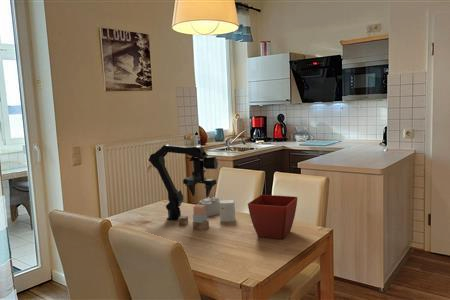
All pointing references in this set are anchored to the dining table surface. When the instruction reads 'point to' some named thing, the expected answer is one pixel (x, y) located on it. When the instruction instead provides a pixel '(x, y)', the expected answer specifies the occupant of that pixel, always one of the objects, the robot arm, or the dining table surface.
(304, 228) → the dining table surface
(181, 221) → the walnut block
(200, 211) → the terracotta cube
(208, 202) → the lumpy-topped squat cylinder
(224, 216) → the small box
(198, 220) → the slate middle block
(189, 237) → the dining table surface
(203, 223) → the walnut base block
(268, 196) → the plant pot
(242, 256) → the dining table surface
